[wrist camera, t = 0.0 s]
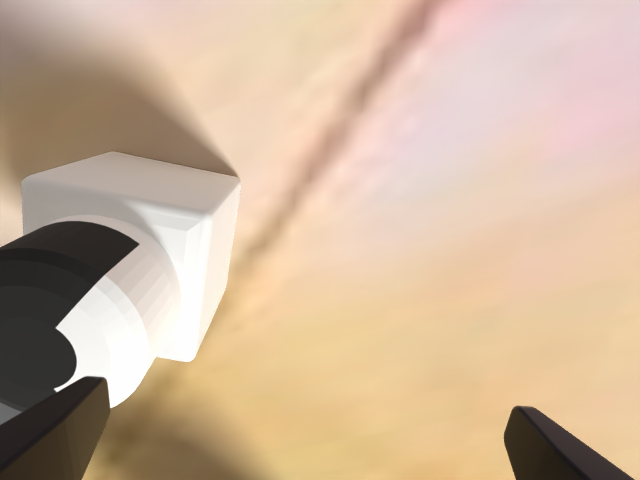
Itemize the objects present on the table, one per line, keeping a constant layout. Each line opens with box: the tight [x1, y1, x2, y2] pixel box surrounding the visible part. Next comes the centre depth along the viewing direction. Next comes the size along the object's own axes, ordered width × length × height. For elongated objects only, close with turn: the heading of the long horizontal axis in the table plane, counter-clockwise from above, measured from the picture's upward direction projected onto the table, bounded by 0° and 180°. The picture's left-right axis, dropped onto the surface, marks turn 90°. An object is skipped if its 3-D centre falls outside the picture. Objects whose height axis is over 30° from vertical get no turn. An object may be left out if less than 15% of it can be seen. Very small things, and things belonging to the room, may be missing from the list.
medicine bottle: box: [0, 151, 241, 412], centre depth 17 cm, size 7×7×12 cm
